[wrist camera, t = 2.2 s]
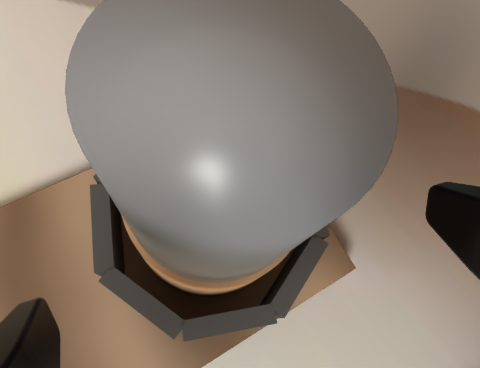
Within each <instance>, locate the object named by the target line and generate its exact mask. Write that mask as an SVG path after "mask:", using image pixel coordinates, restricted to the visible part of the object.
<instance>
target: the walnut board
mask: <svg viewBox="0 0 480 368" xmlns="http://www.w3.org/2000/svg"><path fill="white" fill-rule="evenodd" d="M95 174H96V173H95V171H94V169H93V168H91V169H89V170H87V171H84V172H82V173H80V174H78V175H75V176H73V177H71V178H68V179H66V180H64V181H61V182H59V183H57V184H54V185H52V186H50V187H47V188H45V189H43V190H40V191H38V192H36V193H33V194H31V195H29V196H26V197H24V198H22V199H19V200H17V201H15V202H12V203H10V204H8V205H5V206H3V207H1V208H0V322H1V321H2V320H3V319H4V318H5V317H6V316H7V315H8V314H9V313H10V312H11V311H12V310H13V309H14V308H15V307H16V306H17V305H18V304H19V303H21V302H24V301H27V300H31V299H35V298H38V297H41V298H44V299H45V300H46V302H47V304H48V306H49V308H50V310H51V312H52V314H53V316H54V318H55V321H56V323H57V325H58V327H59V331H60V339H61V346H60V368H201V367H203V366H205V365H206V364H208V363H209V362H211V361H212V360H214V359H215V358H217V357H219V356H220V355H222V354H223V353H225V352H226V351H228V350H229V349H231V348H233V347H234V346H236V345H237V344H239V343H240V342H242V341H243V340H245V339H247V338H248V337H250V336H251V335H253V334H254V333H256V332H257V331H259V330H261V329H262V328H264V327H265V326H261V327H256V328H251V329H246V330H241V331H236V332H231V333H226V334H221V335H216V336H210V337H205V338H200V339H195V340H190V341H185V342H184V341H183V333H182V330H181V331H180V332H179V334H178V335H177V337H176V338H175V339H172V338H171V337H170V336H169V335H167V334H166V333H165V332H163V331H162V330H161V329H159V328H158V327H157V326H156V325H154V324H153V323H152V322H150V321H149V320H148V319H146V318H145V317H144V316H143V315H141V314H140V313H139V312H137V311H136V310H135V309H134V308H132V307H131V306H130V305H128V304H127V303H126V302H124V301H123V300H122V299H121V298H119V297H118V296H117V295H115V294H114V293H113V292H111V291H110V290H109V289H108V288H106V287H105V286H104V285H102V284H101V283H100V282H98V281H99V279H100V278H101V276H99V275H97V274H95V273H94V266H93V245H92V223H91V201H90V185H93V184H97V182H96V181H95V179H94V178H93V176H94V175H95ZM327 226H328V225H327ZM121 227H122V241H123V254H124V268H125V275H126V276H127V277H128V278H130V279H131V280H132V281H134V282H135V283H136V284H137V285H139V286H140V287H141V288H143V289H144V290H145V291H147V292H148V293H149V294H151V295H152V296H153V297H155V298H156V299H157V300H158V301H160V302H161V303H162V304H164V305H165V306H166V307H168V308H169V309H170V310H172V311H173V312H174V313H176V314H177V315H178V316H180V317H181V318H182V319H183V320H188V319H193V318H198V317H203V316H209V315H214V314H219V313H225V312H230V311H235V310H241V309H246V308H251V307H256V306H259V305H260V304H261V302H262V300H263V299H264V297H265V296H266V294H267V293H268V291H269V289H270V288H271V286H272V285H273V283H274V282H275V280H276V278H277V277H278V275H279V274H280V272H281V270H282V269H283V267H284V266H285V264H286V263H287V261H288V259H289V258H290V256H291V255H292V253H293V252H294V250H295V248H296V247H295V248H293V249H292V250H291V251H290V252H289V253H288V255H287V256H286V257H285V258H284V259H283V260H282V261H281V262H280V263H279V264H278V265H277V266H275V267H274V268H273V269H272V270H270V271H269V272H268V273H266V274H264V275H263V276H261V277H260V278H258V279H256V280H255V281H253V282H252V283H250V284H248V285H246V286H245V287H243V288H241V289H238V290H236V291H233V292H230V293H226V294H222V295H213V296H206V295H196V294H191V293H188V292H184V291H181V290H179V289H177V288H175V287H173V286H171V285H169V284H168V283H166V282H165V281H163V280H162V279H161V278H160V277H159V276H158V275H156V274H155V272H154V271H153V270H152V269H151V268H150V267H149V265H148V264H147V263H146V261H145V260H144V258H143V257H142V255H141V254H140V252H139V251H138V250H137V248H136V247H135V245H134V243H133V242H132V240H131V239H130V237H129V234H128V232H127V230H126V228H125V225H124V221H123V218H122V215H121ZM328 230H329V234H330V236H328V237H327V238H325V239H323V240H324V241H326V242H327V243H329V244H328V246H327V248H326V249H325V251H324V253H323V254H322V256H321V258H320V259H319V261H318V263H317V264H316V266H315V268H314V269H313V271H312V273H311V274H310V276H309V278H308V280H307V281H306V283H305V285H304V286H303V288H302V290H301V291H300V293H299V295H298V296H297V298H296V300H295V301H294V303H293V305H292V306H291V308H290V310H292V309H293V308H295V307H296V306H298V305H300V304H301V303H303V302H304V301H306V300H307V299H309V298H310V297H312V296H314V295H315V294H317V293H318V292H320V291H321V290H323V289H324V288H326V287H328V286H329V285H331V284H332V283H334V282H335V281H337V280H338V279H340V278H342V277H343V276H345V275H346V274H348V273H349V272H351V271H352V270H354V269H356V267H355V266H354V264H353V263H352V261H351V260H350V258H349V256H348V255H347V253H346V252H345V250H344V249H343V247H342V246H341V244H340V243H339V241H338V239H337V238H336V236H335V235H334V233H333V232H332V230H331V229H330V227H329V226H328ZM290 310H289V311H290ZM289 311H288V312H289ZM276 319H278V318H276ZM266 326H267V325H266Z"/></svg>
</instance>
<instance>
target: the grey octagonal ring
mask: <svg viewBox="0 0 480 368" xmlns="http://www.w3.org/2000/svg"><path fill="white" fill-rule="evenodd" d="M93 178H94V179H95V181H96V182H97V184H93V185H90V201H91V223H92V245H93V266H94V273H95V274H97V275H99V276H101V278H100V279H99V281H98V282H100V283H101V284H102V285H104V286H105V287H106V288H108V289H109V290H110V291H111V292H113V293H114V294H115V295H117V296H118V297H119V298H121V299H122V300H123V301H124V302H126V303H127V304H128V305H130V306H131V307H132V308H134V309H135V310H136V311H137V312H139V313H140V314H141V315H143V316H144V317H145V318H146V319H148V320H149V321H150V322H152V323H153V324H154V325H156V326H157V327H158V328H159V329H161V330H162V331H163V332H165V333H166V334H167V335H169V336H170V337H171V338H172V339H175V338H176V337H177V335H178V334H179V332H180V331H181V330H182V333H183V341H184V342H185V341H190V340H195V339H200V338H205V337H210V336H216V335H221V334H226V333H231V332H236V331H241V330H246V329H251V328H256V327H261V326H266V325H271V324H276V323H277V320H276V318H285V316H286V315H287V313H288V311H289V310H290V308H291V306H292V305H293V303H294V301H295V300H296V298H297V296H298V295H299V293H300V291H301V290H302V288H303V286H304V285H305V283H306V281H307V280H308V278H309V276H310V274H311V273H312V271H313V269H314V268H315V266H316V264H317V263H318V261H319V259H320V258H321V256H322V254H323V253H324V251H325V249H326V248H327V246H328V244H329V243H327V242H326V241H324V240H323V239H325V238H327V237H328V236H330V234H329V230H328V226H327V225H326V226H325V227H323V228H322V229H321V230H319V231H318V232H316V233H315V234H313V235H312V236H311V237H309V238H308V239H306V240H305V241H303V242H302V243H301V244H299V245H298V246H296V248H295V250H294V252H293V253H292V255H291V256H290V258H289V259H288V261H287V263H286V264H285V266H284V267H283V269H282V270H281V272H280V274H279V275H278V277H277V278H276V280H275V282H274V283H273V285H272V286H271V288H270V289H269V291H268V293H267V294H266V296H265V297H264V299H263V300H262V302H261V304H260V305H259V306H256V307H251V308H246V309H241V310H235V311H230V312H225V313H219V314H214V315H209V316H203V317H198V318H193V319H188V320H183V319H182V318H181V317H180V316H178V315H177V314H176V313H174V312H173V311H172V310H170V309H169V308H168V307H166V306H165V305H164V304H162V303H161V302H160V301H158V300H157V299H156V298H155V297H153V296H152V295H151V294H149V293H148V292H147V291H145V290H144V289H143V288H141V287H140V286H139V285H137V284H136V283H135V282H134V281H132V280H131V279H130V278H128V277H127V276H126V275H125V268H124V254H123V241H122V227H121V213H120V211H119V210H118V208H117V207H116V205H115V203H114V202H113V200H112V199H111V197H110V195H109V194H108V192H107V190H106V189H105V187H104V186H103V184H102V182H101V181H100V179H99V178H98V176H97V174H95V175H94V176H93Z"/></svg>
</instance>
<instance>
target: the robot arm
mask: <svg viewBox="0 0 480 368" xmlns="http://www.w3.org/2000/svg"><path fill="white" fill-rule="evenodd" d="M426 219H427V222H428V223H429V225H430V226H431V227H432V228H433V229H434V230H435V232H436V233H437V234H438V235H439V236H440V237H441V238H442V240H443V241H444V242H445V243H446V244H447V245H448V246H449V247H450V249H451V250H452V251H453V252H454V253H455V254H456V255H457V257H458V258H459V259H460V260H461V261H462V262H463V263H464V264H465V265H466V267H467V268H468V269H469V270H470V271H471V272H472V273H473V274H474V275H475V276H476V277H477V278H478V279H479V280H480V187H478V186H472V185H465V184H458V183H452V182H444V183H440V184H437V185H433V186H432V187H431V188H430V189H429V192H428V199H427V207H426ZM60 346H61V339H60V331H59V327H58V325H57V323H56V321H55V318H54V316H53V314H52V312H51V310H50V308H49V306H48V304H47V302H46V300H45V299H44V298H41V297H38V298H35V299H31V300H27V301H24V302H21V303H19V304H18V305H17V306H16V307H15V308H14V309H13V310H12V311H11V312H10V313H9V314H8V315H7V316H6V317H5V318H4V319H3V320H2V321H1V322H0V368H60Z"/></svg>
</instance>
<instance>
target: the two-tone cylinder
mask: <svg viewBox="0 0 480 368" xmlns="http://www.w3.org/2000/svg"><path fill="white" fill-rule="evenodd" d="M65 94H66V103H67V111H68V115H69V118H70V122H71V126H72V129H73V132H74V134H75V137H76V139H77V141H78V143H79V145H80V147H81V150H82V152H83V153H84V155H85V156H86V158H87V160H88V161H89V163H90V165H91V166H92V168H93V169H94V171H95V173H96V174H97V176H98V178H99V179H100V181H101V182H102V184H103V186H104V187H105V189H106V190H107V192H108V194H109V195H110V197H111V199H112V200H113V202H114V203H115V205H116V207H117V208H118V210H119V211H120V213H121V215H122V218H123V221H124V225H125V228H126V230H127V232H128V234H129V237H130V239H131V240H132V242H133V243H134V245H135V247H136V248H137V250H138V251H139V252H140V254H141V255H142V257H143V258H144V260H145V261H146V263H147V264H148V265H149V267H150V268H151V269H152V270H153V271H154V272H155V274H156V275H158V276H159V277H160V278H161V279H162V280H163V281H165V282H166V283H168V284H169V285H171V286H173V287H175V288H177V289H179V290H181V291H184V292H188V293H191V294H196V295H206V296H213V295H222V294H226V293H230V292H233V291H236V290H238V289H241V288H243V287H245V286H246V285H248V284H250V283H252V282H253V281H255V280H256V279H258V278H260V277H261V276H263V275H264V274H266V273H268V272H269V271H270V270H272V269H273V268H274V267H275V266H277V265H278V264H279V263H280V262H281V261H282V260H283V259H284V258H285V257H286V256H287V255H288V253H289V252H290V251H291V250H292V249H293V248H295V247H296V246H298V245H299V244H301V243H302V242H303V241H305V240H306V239H308V238H309V237H311V236H312V235H313V234H315V233H316V232H318V231H319V230H321V229H322V228H323V227H325V226H326V225H328V224H329V223H331V222H332V221H333V220H335V219H336V218H338V217H339V216H341V215H342V214H343V213H344V212H346V211H347V210H348V209H350V208H351V207H352V206H354V205H355V204H356V203H357V202H358V201H359V200H360V199H361V198H362V197H363V196H364V195H365V194H366V193H367V192H368V191H369V190H370V189H371V188H372V186H373V185H374V183H375V182H376V180H377V179H378V177H379V176H380V175H381V173H382V172H383V170H384V167H385V165H386V163H387V161H388V159H389V157H390V155H391V151H392V148H393V145H394V141H395V138H396V131H397V124H398V100H397V94H396V88H395V83H394V79H393V76H392V73H391V70H390V67H389V65H388V63H387V60H386V58H385V56H384V54H383V51H382V50H381V48H380V46H379V45H378V43H377V41H376V40H375V38H374V37H373V35H372V34H371V33H370V31H369V30H368V29H367V27H366V26H365V25H364V23H363V22H362V21H361V20H360V19H359V18H358V17H357V16H356V15H355V14H354V13H353V12H352V11H351V10H350V9H349V8H348V7H347V6H345V5H344V4H343V3H342V2H341V1H339V0H103V1H102V2H101V3H100V4H99V5H98V6H97V7H96V8H95V10H94V11H93V12H92V13H91V15H90V16H89V17H88V18H87V20H86V21H85V23H84V25H83V26H82V28H81V30H80V31H79V33H78V35H77V37H76V40H75V42H74V45H73V47H72V50H71V52H70V56H69V61H68V65H67V70H66V84H65Z"/></svg>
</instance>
